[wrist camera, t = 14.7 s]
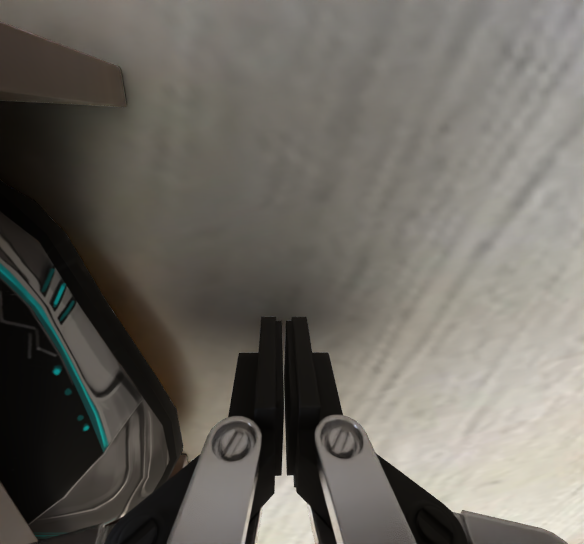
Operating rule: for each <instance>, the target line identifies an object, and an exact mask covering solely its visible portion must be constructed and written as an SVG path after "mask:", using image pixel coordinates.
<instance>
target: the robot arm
mask: <svg viewBox="0 0 584 544" xmlns="http://www.w3.org/2000/svg"><path fill="white" fill-rule="evenodd" d="M284 396H285V429H286V461H287V475H294V487H296V490H297V493H298V494H299V495H300V496H301V497H302V498H303V499H304V500H305V501H306V502H307V505H308V513H309V518H310V522H311V527H312V532H313V537H314V541H315V544H568V543H567V542H565V541H564V540H563V539H561V538H560V537H558V536H557V535H555V534H554V533H552V532H550V531H547V530H545V529H542V528H538V527H534V526H530V525H525V524H521V523H517V522H512V521H508V520H503V519H499V518H495V517H490V516H486V515H482V514H477V513H473V512H469V511H464V510H462V512H461V514H459V513H455V512H452V511H451V510H449V509H448V508H447V507H446V506H445V505H444V504H443V503H442V502H440V501H439V500H438V499H436V498H435V497H434V496H432V495H431V494H430V493H428V492H427V491H426V490H424V489H423V488H422V487H420V486H419V485H418V484H416V483H415V482H414V481H412V480H411V479H410V478H408V477H407V476H406V475H404V474H403V473H402V472H400V471H399V470H398V469H396V468H395V467H394V466H392V465H391V464H390V463H388V462H387V461H385V460H384V459H383V458H381V457H380V456H379V455H377V454H376V453H375V451H374V449H373V446H372V444H371V442H370V440H369V438H368V435H367V433H366V432H365V430H364V429H363V427H362V426H361V425H360V424H359V423H358V422H357V421H356V420H354V419H352V418H350V417H348V416H344V415H343V413H342V409H341V405H340V400H339V396H338V392H337V387H336V383H335V379H334V374H333V370H332V366H331V361H330V357H329V354H328V352H325V353H312V348H311V342H310V335H309V329H308V323H307V317H292V320H291V321H286V337H285V365H284V387H283V351H282V321H276V317H261V328H260V341H259V353H239V356H238V361H237V367H236V373H235V379H234V385H233V391H232V397H231V403H230V410H229V416H228V418H225V419H224V420H222V421H220V422H218V423H217V424H216V425H215V426H214V427H213V428H212V429H211V431H210V433H209V434H208V436H207V439H206V441H205V444H204V446H203V449H202V452H201V454H200V455H198V456H197V457H196V458H195V459H194V460H192V461H191V462H190V463H189V464H187V465H186V466H185V467H184V468H182V469H181V470H180V471H179V472H177V473H176V474H175V475H174V476H173V477H171V478H170V479H169V480H168V481H166V482H165V483H164V484H163V485H161V486H160V487H159V488H158V489H156V490H155V491H154V492H153V493H152V494H150V495H149V496H148V497H147V498H145V499H144V500H143V501H142V502H140V503H139V504H138V505H137V506H135V507H134V508H133V509H132V510H131V511H129V512H128V513H127V514H126V515H125V516H124V517H123V518H122V519H121V520H120V521H119V522H118V523H115V524H112V525H108V526H105V525H104V523H100V524H96V525H93V526H89V527H86V528H82V529H79V530H75V531H72V532H68V533H65V534H61V535H58V536H54V537H51V538H47V539H44V540H40V541H37V542H33V543H30V544H257V539H258V533H259V527H260V521H261V515H262V506H263V505H264V504H265V503H266V502H267V501H268V500H269V498H270V497H271V496H272V495H273V494H274V486H275V476H281V474H282V448H283V422H284Z"/></svg>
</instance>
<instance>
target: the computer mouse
mask: <svg viewBox="0 0 584 544" xmlns="http://www.w3.org/2000/svg"><path fill="white" fill-rule="evenodd" d="M182 449H183V442H182V437H181V432H180V426H179V421H178V416H177V411H176V408H175V406H174V405H173V403H172V401H171V400H170V398H169V396H168V395H167V393H166V391H165V390H164V388H163V386H162V385H161V383H160V381H159V380H158V378H157V377H156V375H155V374H154V372H153V371H152V369H151V368H150V366H149V365H148V363H147V362H146V360H145V359H144V357H143V356H142V354H141V353H140V351H139V350H138V348H137V347H136V345H135V344H134V342H133V341H132V339H131V338H130V336H129V334H128V333H127V331H126V330H125V328H124V327H123V325H122V324H121V322H120V321H119V319H118V318H117V316H116V315H115V313H114V312H113V310H112V309H111V307H110V306H109V304H108V303H107V301H106V300H105V298H104V296H103V295H102V293H101V291H100V290H99V288H98V286H97V285H96V283H95V281H94V280H93V278H92V276H91V275H90V273H89V271H88V270H87V268H86V266H85V265H84V263H83V261H82V259H81V258H80V256H79V254H78V253H77V251H76V249H75V248H74V246H73V244H72V243H71V241H70V239H69V238H68V236H67V234H66V233H65V232H64V231H63V230H62V229H61V228H60V227H59V226H58V225H57V224H56V223H55V221H54V220H53V219H52V218H51V217H50V216H49V215H48V214H47V213H46V212H45V211H44V210H43V209H42V208H41V207H40V206H39V205H38V204H37V203H36V202H35V201H34V200H32V199H30V198H28V197H27V196H25V195H23V194H22V193H20V192H18V191H17V190H15V189H13V188H12V187H10V186H8V185H7V184H5V183H4V182H2V181H1V180H0V481H1V483H2V484H3V486H4V487H5V489H6V490H7V492H8V494H9V495H10V497H11V498H12V500H13V501H14V503H15V505H16V506H17V508H18V509H19V511H20V512H21V514H22V516H23V517H24V519H25V520H26V522H27V523H28V525H29V526H30V528H31V530H32V531H33V533H34V534H35V536H36V537H37V539H38V540H43V539H47V538H51V537H54V536H58V535H61V534H65V533H68V532H72V531H75V530H79V529H82V528H86V527H89V526H93V525H96V524H100V523H104V525H107V524H109V523H111V522H113V521H115V520H117V519H119V518H122V517H124V516H125V515H126V514H127V513H128V512H129V511H131V510H132V509H133V508H134V507H135V506H137V505H138V504H139V503H140V502H142V501H143V500H144V499H145V498H147V497H148V496H149V495H150V494H152V493H153V492H154V491H155V490H156V489H158V488H159V487H160V486H161V485H163V484H164V483H165V482H166V481H167V480H168V479H169V477H170V475H171V473H172V471H173V469H174V467H175V465H176V463H177V461H178V459H179V457H180V455H181V453H182Z"/></svg>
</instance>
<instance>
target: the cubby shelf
mask: <svg viewBox="0 0 584 544" xmlns="http://www.w3.org/2000/svg"><path fill="white" fill-rule="evenodd" d="M0 101H19V102H37V103H56V104H75V105H93V106H112V107H126V106H127V103H126V98H125V92H124V86H123V80H122V74H121V69H120V67H119V66H117V65H114V64H111V63H109V62H106V61H104V60H101V59H98V58H96V57H93V56H90V55H88V54H85V53H83V52H80V51H77V50H75V49H72V48H69V47H67V46H64V45H62V44H59V43H56V42H54V41H51V40H48V39H46V38H43V37H41V36H38V35H35V34H33V33H30V32H27V31H25V30H22V29H20V28H17V27H14V26H12V25H9V24H6V23H4V22H1V21H0ZM187 464H188V461H187V456H186V454H184V455H180V457H179V459H178V461H177V463H176V465H175V467H174V469H173V471H172V473H171V475H170V477H169V479H170V478H171V477H173V476H174V475H175V474H176V473H177V472H179V471H180V470H181V469H182V468H184V467H185V466H186V465H187ZM169 479H168V480H169ZM168 480H167V481H168ZM122 518H123V517H122ZM122 518H119V519H117V520H115V521H113V522H111V523H109V524H107V525H105V526H108V525H112V524H115V523H118V522H119V521H120V520H121V519H122ZM43 540H44V539H43ZM37 541H40V540H38V539H37V537H36V536H35V534H34V533H33V531H32V530H31V528H30V526H29V525H28V523H27V522H26V520H25V519H24V517H23V516H22V514H21V512H20V511H19V509H18V508H17V506H16V505H15V503H14V501H13V500H12V498H11V497H10V495H9V494H8V492H7V490H6V489H5V487H4V486H3V484H2V483H1V481H0V544H30V543H33V542H37Z"/></svg>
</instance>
